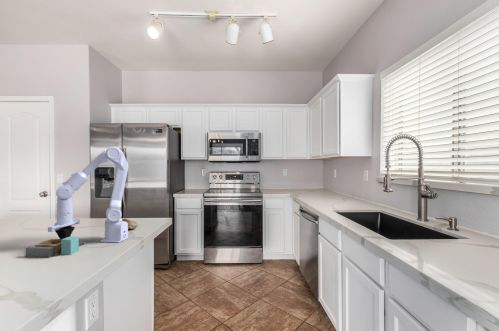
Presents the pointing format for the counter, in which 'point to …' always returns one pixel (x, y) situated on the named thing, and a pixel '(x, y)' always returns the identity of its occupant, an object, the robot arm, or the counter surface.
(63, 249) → the aqua rectangular prism
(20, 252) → the counter surface
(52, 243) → the brown rectangular frame
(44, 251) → the backstop
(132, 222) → the decorative stone
